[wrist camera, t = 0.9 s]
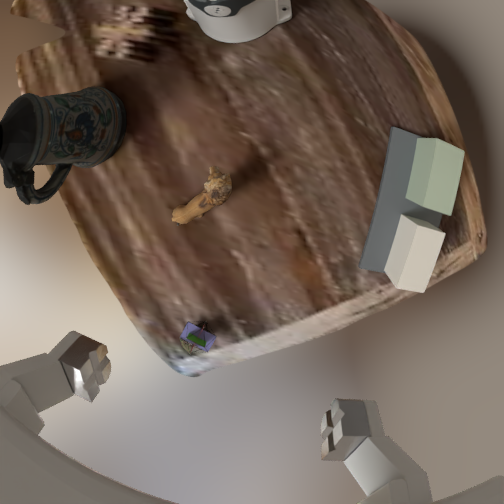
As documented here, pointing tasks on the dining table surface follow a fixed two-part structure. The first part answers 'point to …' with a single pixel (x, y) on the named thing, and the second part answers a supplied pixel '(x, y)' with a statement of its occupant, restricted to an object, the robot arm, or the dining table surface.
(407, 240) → the beige eraser-shaped brick
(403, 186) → the slate board
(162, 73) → the dining table surface
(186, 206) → the lion figurine
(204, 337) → the geometric puzzle
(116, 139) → the beer stein
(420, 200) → the pale green prism
